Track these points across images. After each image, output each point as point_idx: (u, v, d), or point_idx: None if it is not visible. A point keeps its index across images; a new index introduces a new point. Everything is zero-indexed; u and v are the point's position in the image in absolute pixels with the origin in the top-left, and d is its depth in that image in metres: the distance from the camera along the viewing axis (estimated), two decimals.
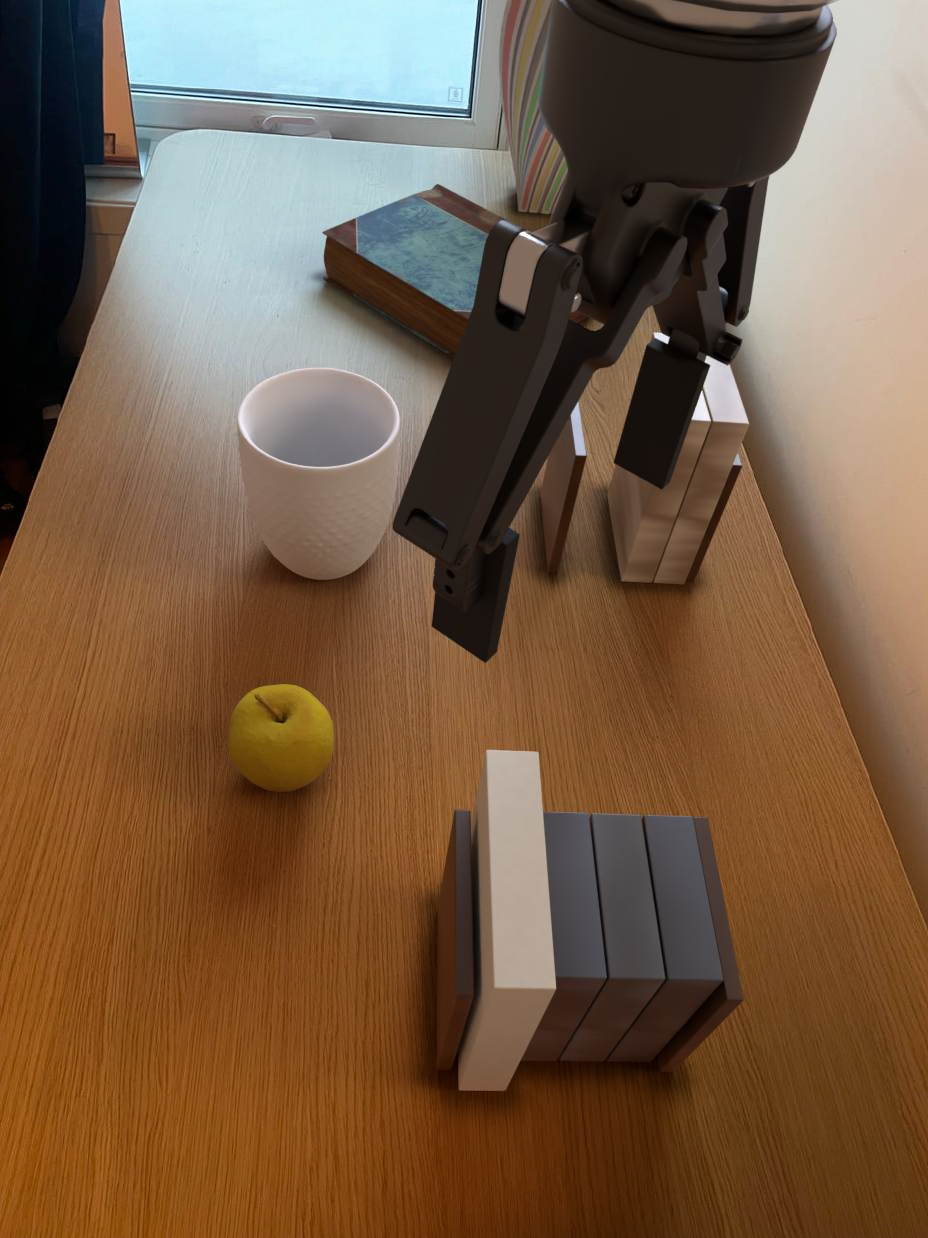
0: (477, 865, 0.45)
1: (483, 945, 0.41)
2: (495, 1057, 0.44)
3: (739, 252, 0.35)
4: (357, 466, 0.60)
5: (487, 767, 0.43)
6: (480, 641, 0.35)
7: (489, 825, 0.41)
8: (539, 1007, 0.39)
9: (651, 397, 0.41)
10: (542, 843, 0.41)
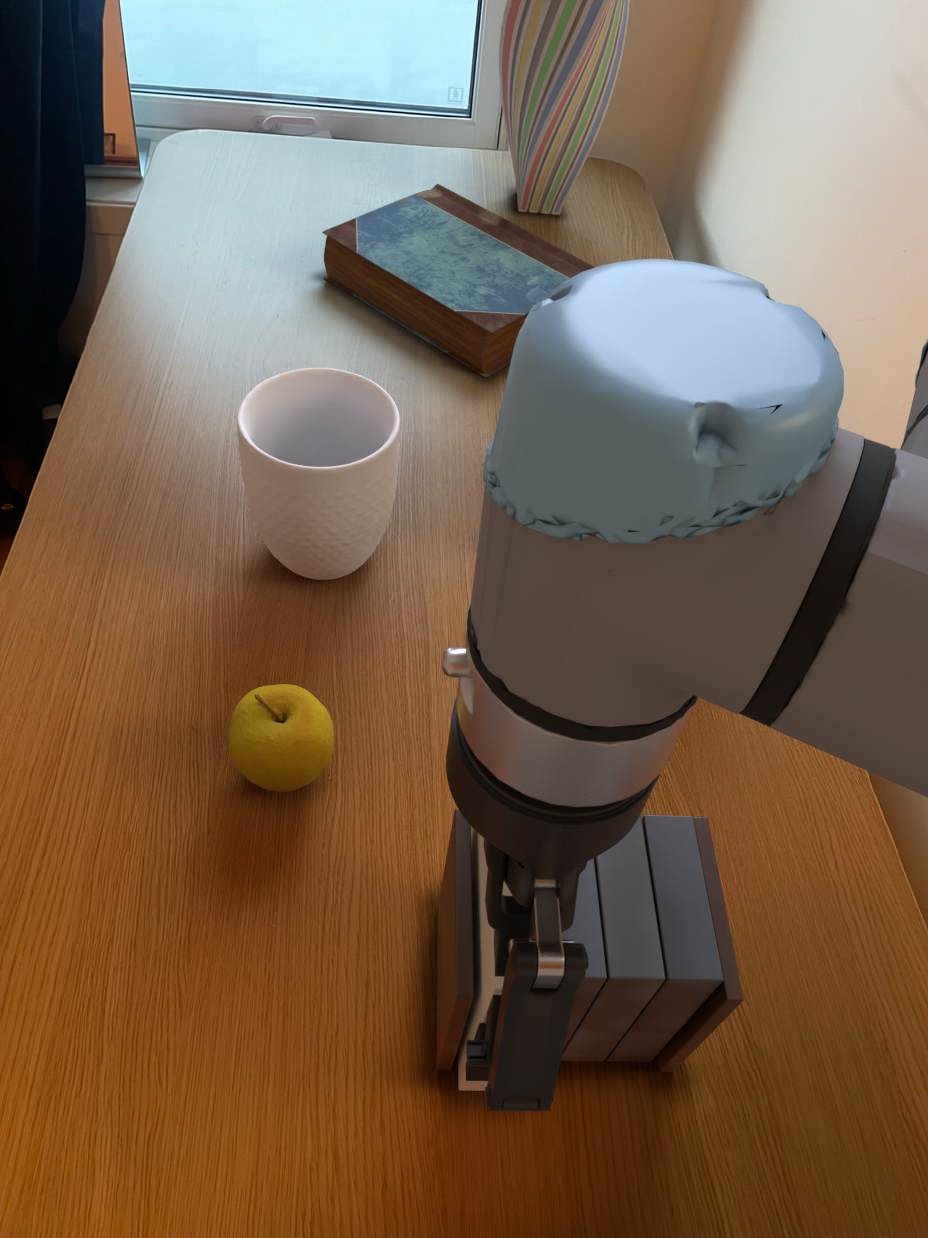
0: (477, 865, 0.45)
1: (483, 945, 0.41)
2: None
3: None
4: (357, 466, 0.60)
5: None
6: None
7: None
8: None
9: None
10: None
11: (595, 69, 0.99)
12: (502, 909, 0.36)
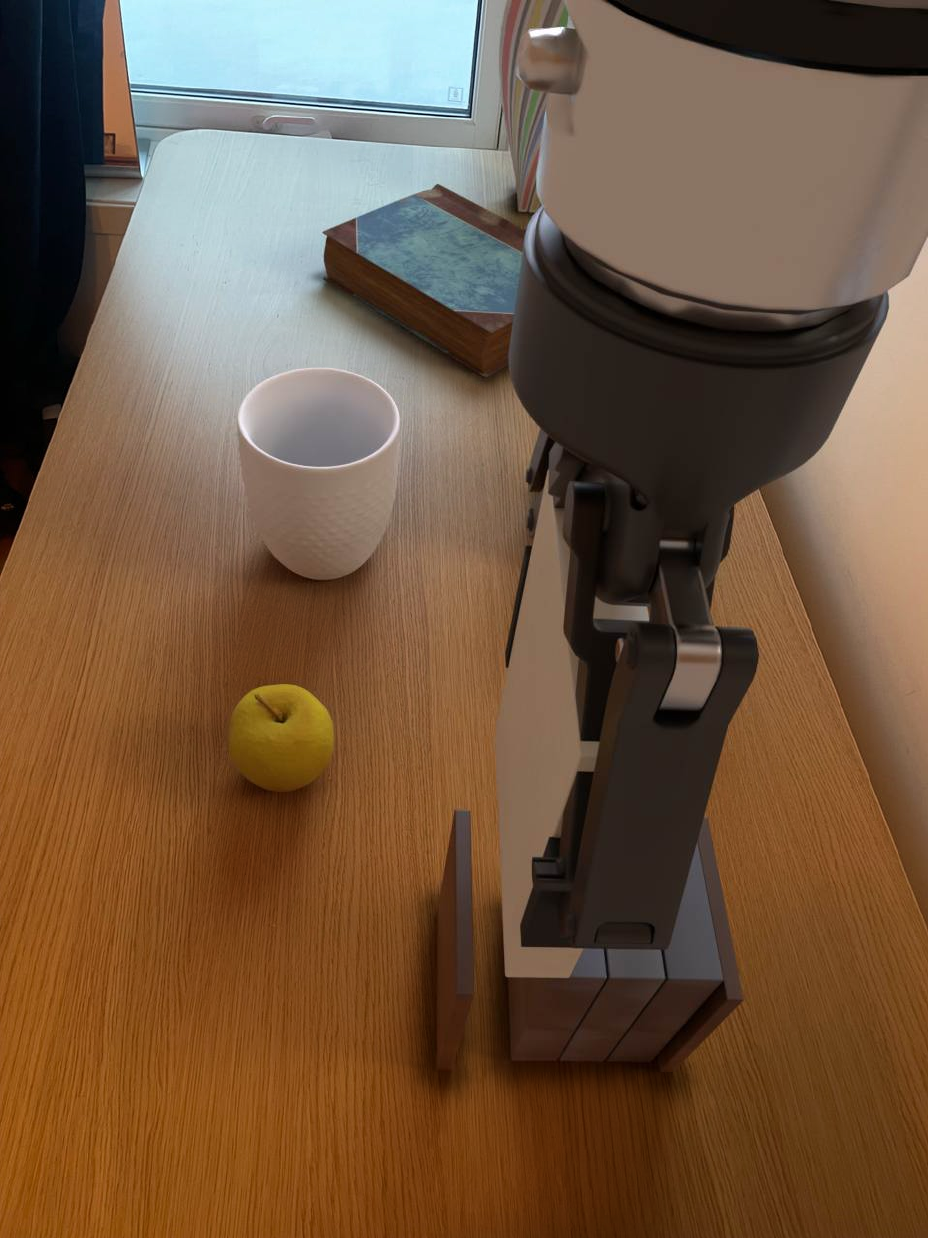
0: (534, 643, 0.32)
1: (551, 728, 0.28)
2: None
3: None
4: (357, 466, 0.60)
5: None
6: None
7: (558, 554, 0.28)
8: None
9: None
10: None
11: None
12: (594, 626, 0.23)
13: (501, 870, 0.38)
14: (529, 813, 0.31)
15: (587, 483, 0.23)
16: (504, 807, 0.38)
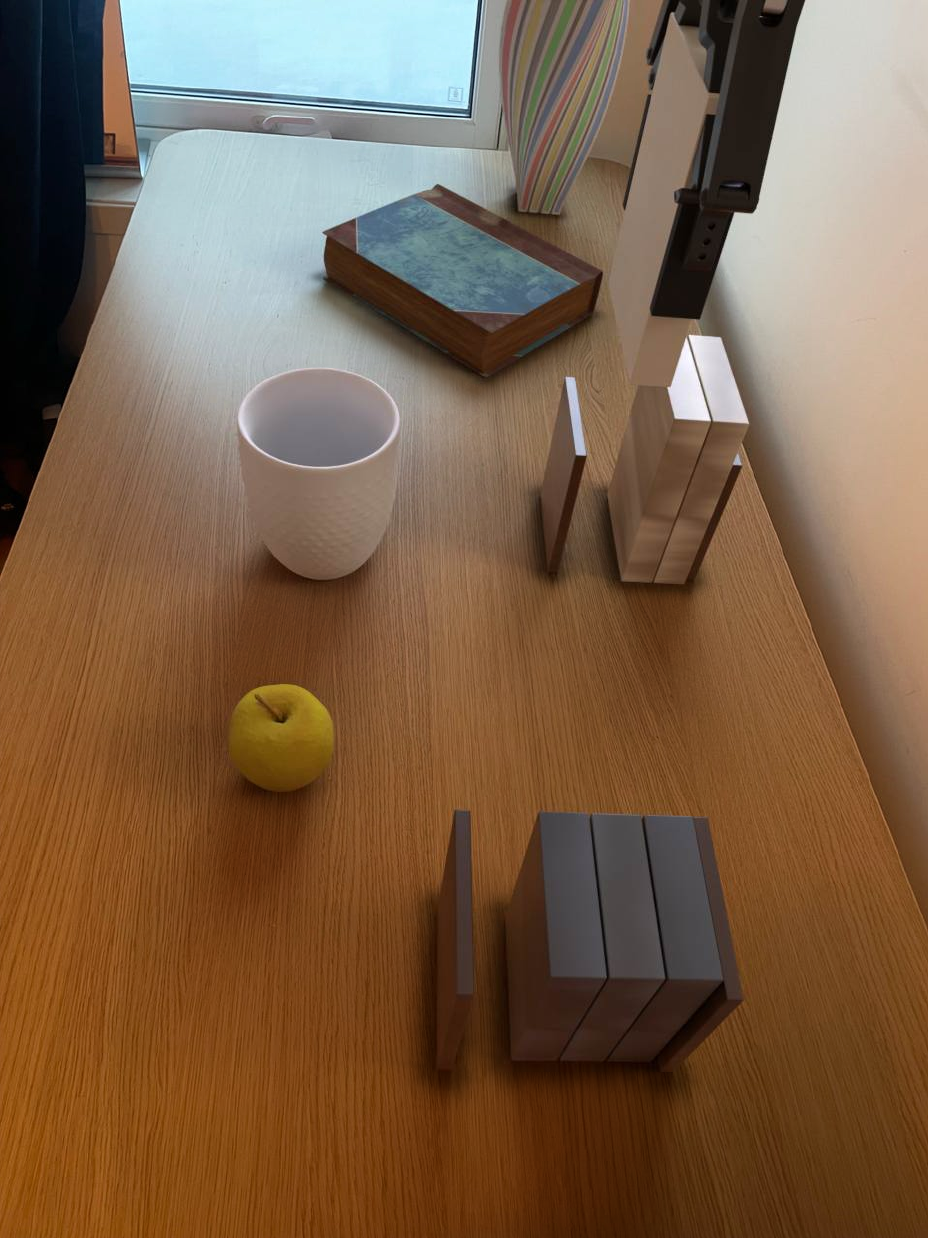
0: (658, 132, 0.51)
1: (680, 138, 0.47)
2: None
3: None
4: (357, 466, 0.60)
5: (674, 18, 0.49)
6: (698, 302, 0.50)
7: (683, 39, 0.48)
8: None
9: None
10: None
11: (595, 69, 0.99)
12: (719, 19, 0.43)
13: (621, 338, 0.58)
14: (656, 232, 0.51)
15: None
16: (624, 296, 0.58)
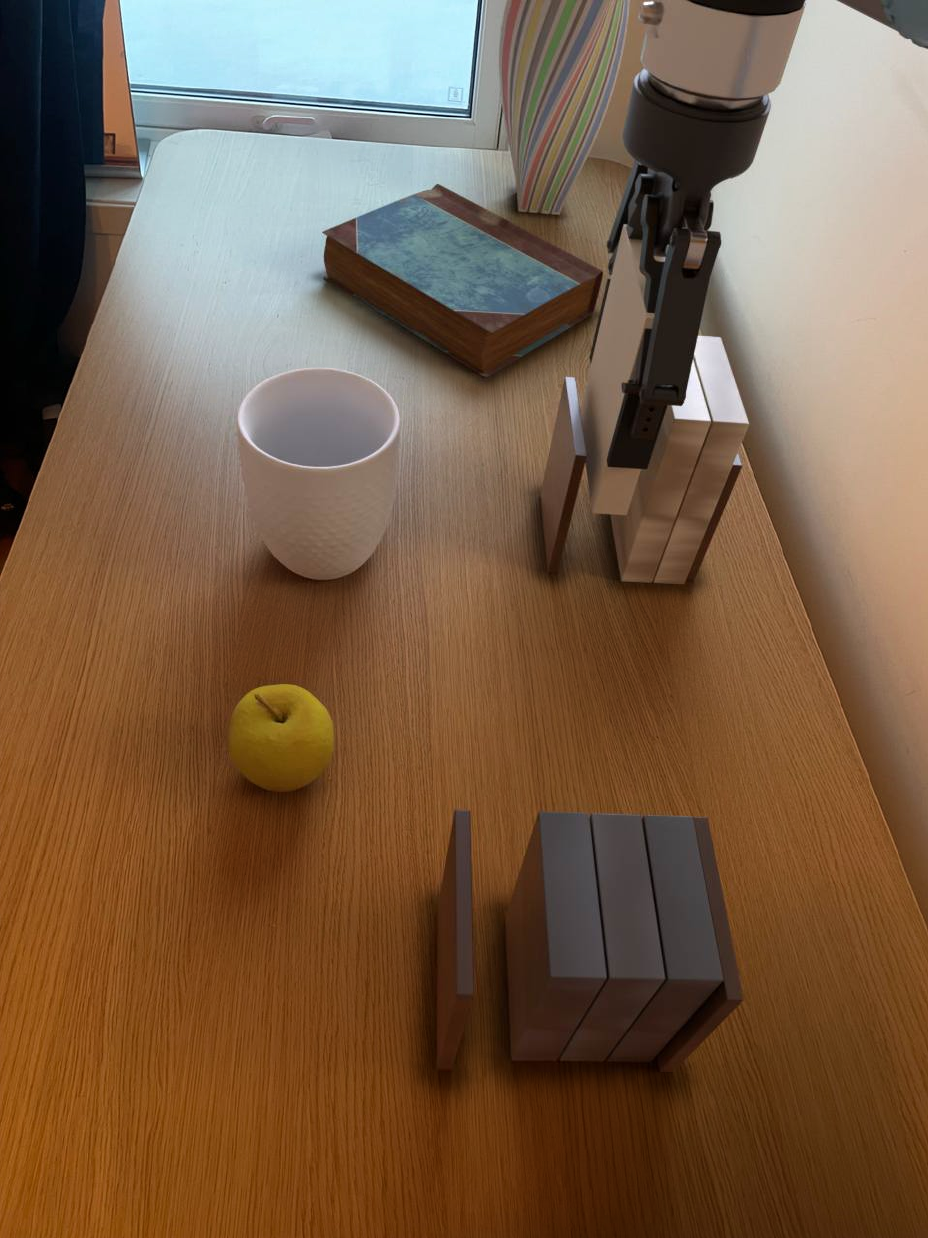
0: (614, 317, 0.63)
1: (628, 334, 0.59)
2: None
3: None
4: (357, 466, 0.60)
5: (625, 231, 0.62)
6: (645, 457, 0.62)
7: (631, 254, 0.60)
8: None
9: None
10: None
11: (595, 69, 0.99)
12: (654, 258, 0.55)
13: (587, 470, 0.70)
14: (612, 399, 0.63)
15: (652, 194, 0.54)
16: (589, 435, 0.70)
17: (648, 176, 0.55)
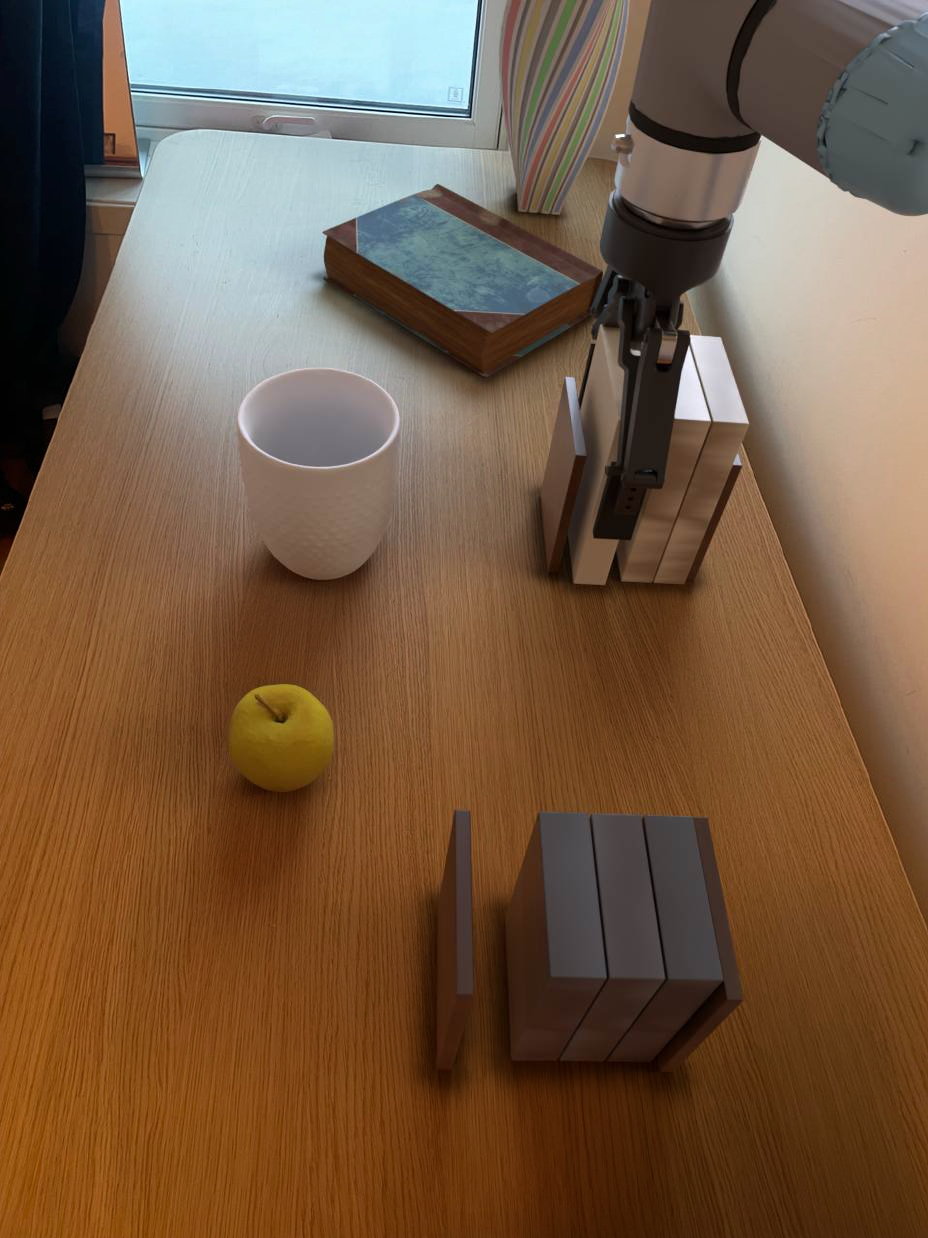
0: (592, 407, 0.69)
1: (603, 429, 0.65)
2: None
3: None
4: (357, 466, 0.60)
5: (602, 331, 0.67)
6: (628, 529, 0.66)
7: (606, 355, 0.65)
8: None
9: None
10: None
11: (595, 69, 0.99)
12: (631, 353, 0.59)
13: (569, 542, 0.76)
14: (590, 483, 0.69)
15: (627, 296, 0.59)
16: None
17: (624, 278, 0.60)
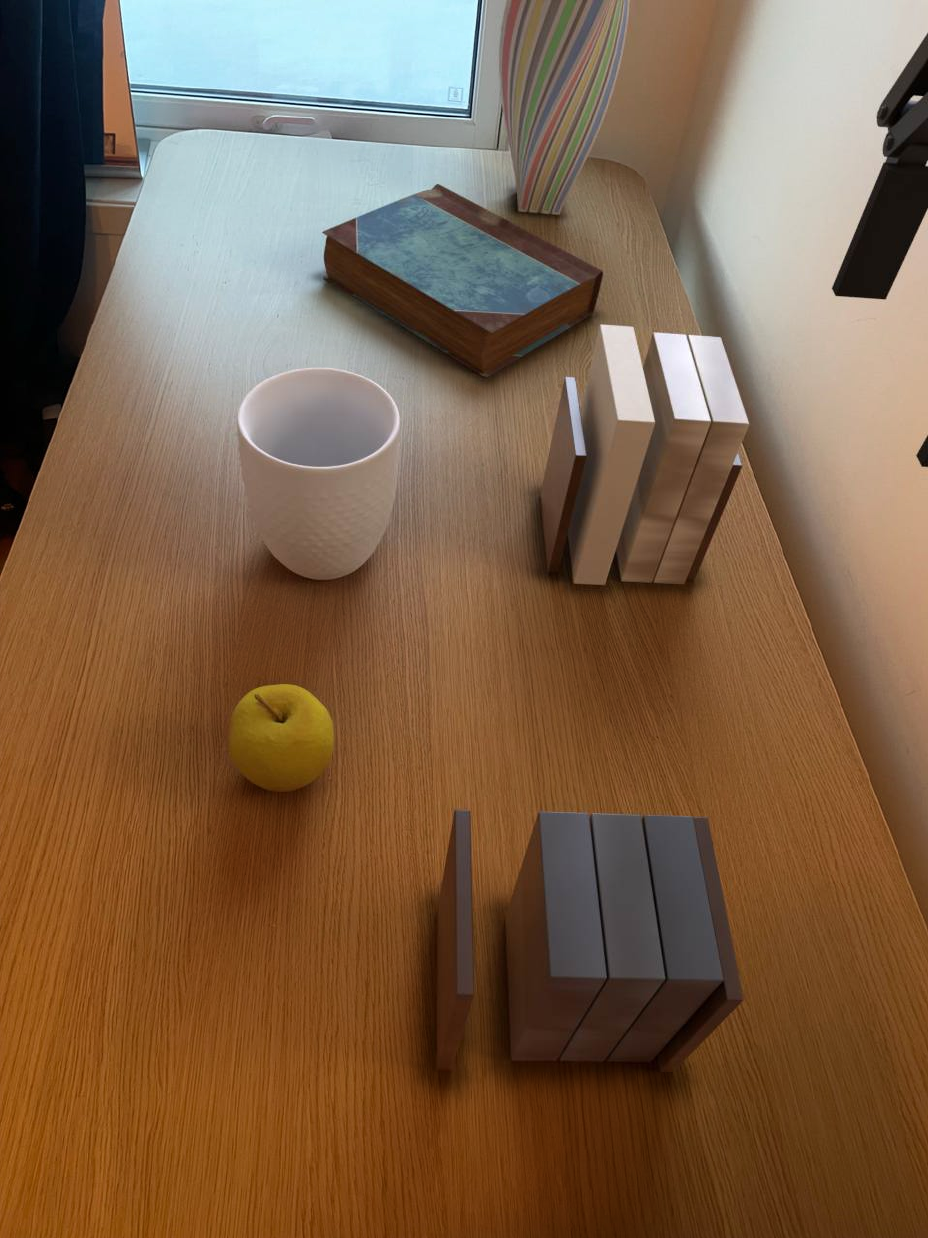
0: (592, 407, 0.69)
1: (603, 429, 0.65)
2: (605, 526, 0.68)
3: None
4: (357, 466, 0.60)
5: (601, 331, 0.67)
6: None
7: (606, 355, 0.65)
8: (642, 448, 0.63)
9: (886, 217, 0.46)
10: (640, 364, 0.65)
11: (595, 69, 0.99)
12: None
13: (569, 542, 0.76)
14: (590, 483, 0.69)
15: None
16: None
17: None
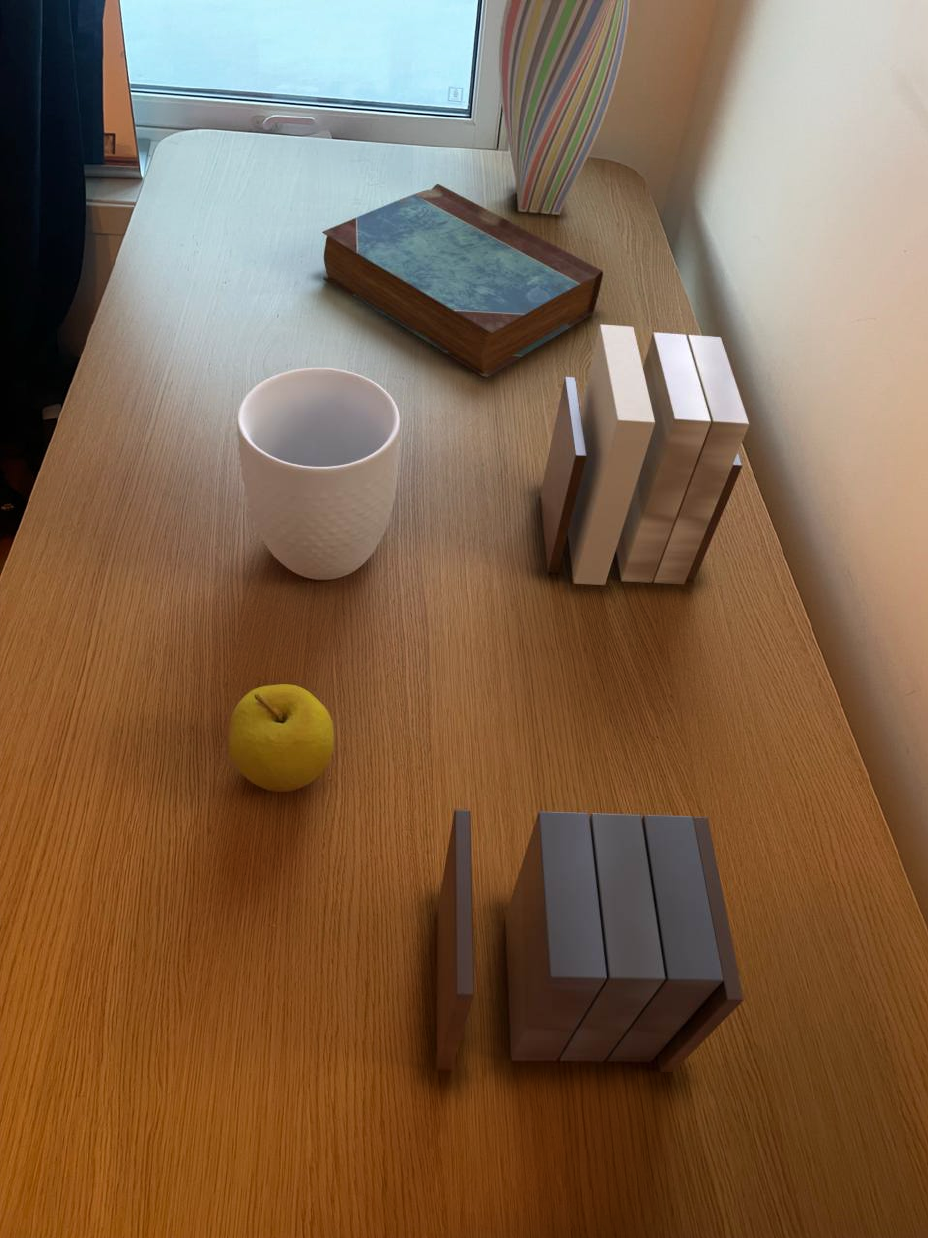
0: (592, 407, 0.69)
1: (603, 429, 0.65)
2: (605, 526, 0.68)
3: None
4: (357, 466, 0.60)
5: (601, 331, 0.67)
6: None
7: (606, 355, 0.65)
8: (642, 448, 0.63)
9: None
10: (640, 364, 0.65)
11: (595, 69, 0.99)
12: None
13: (569, 542, 0.76)
14: (589, 483, 0.69)
15: None
16: None
17: None
